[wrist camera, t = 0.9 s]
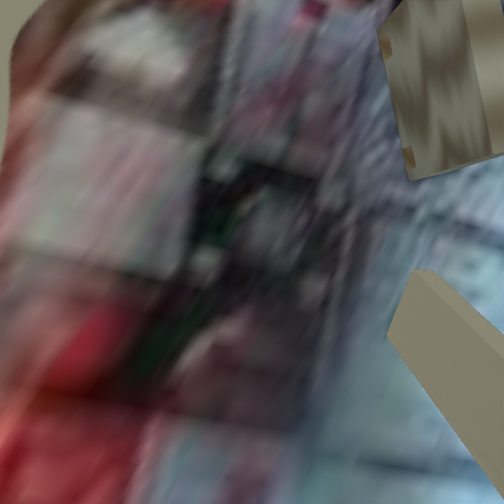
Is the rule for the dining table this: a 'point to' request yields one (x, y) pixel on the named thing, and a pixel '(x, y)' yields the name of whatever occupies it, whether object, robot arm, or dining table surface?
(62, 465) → the dining table surface
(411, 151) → the base
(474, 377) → the robot arm
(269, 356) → the dining table surface
